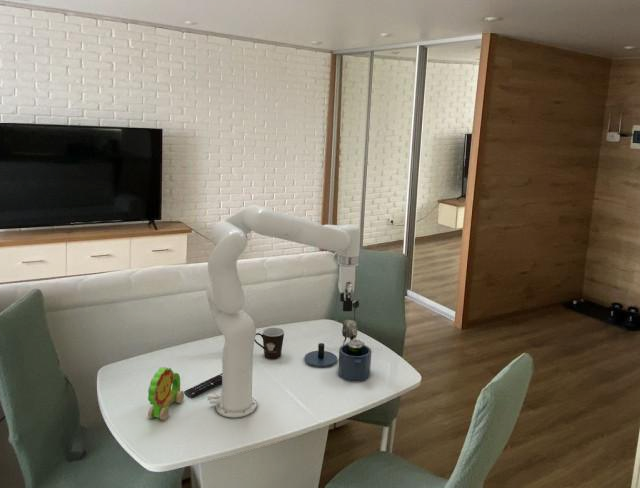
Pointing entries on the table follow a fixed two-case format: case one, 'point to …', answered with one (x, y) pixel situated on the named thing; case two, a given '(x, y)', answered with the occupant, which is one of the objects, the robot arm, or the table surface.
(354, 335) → the plant with pod
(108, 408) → the table surface
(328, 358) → the lid
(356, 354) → the beer can
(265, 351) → the coffee mug
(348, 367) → the pot
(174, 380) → the toy lion
